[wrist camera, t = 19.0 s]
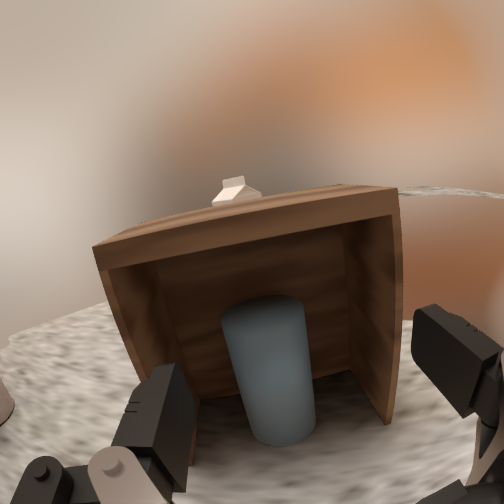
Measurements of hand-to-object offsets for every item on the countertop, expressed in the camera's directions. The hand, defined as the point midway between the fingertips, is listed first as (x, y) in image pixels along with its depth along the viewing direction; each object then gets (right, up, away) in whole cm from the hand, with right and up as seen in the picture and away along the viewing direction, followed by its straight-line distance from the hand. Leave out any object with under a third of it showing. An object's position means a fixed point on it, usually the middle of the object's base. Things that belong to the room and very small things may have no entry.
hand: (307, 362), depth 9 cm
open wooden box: (+1, -12, +16) cm, 20 cm away
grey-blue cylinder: (+1, -12, +15) cm, 19 cm away
